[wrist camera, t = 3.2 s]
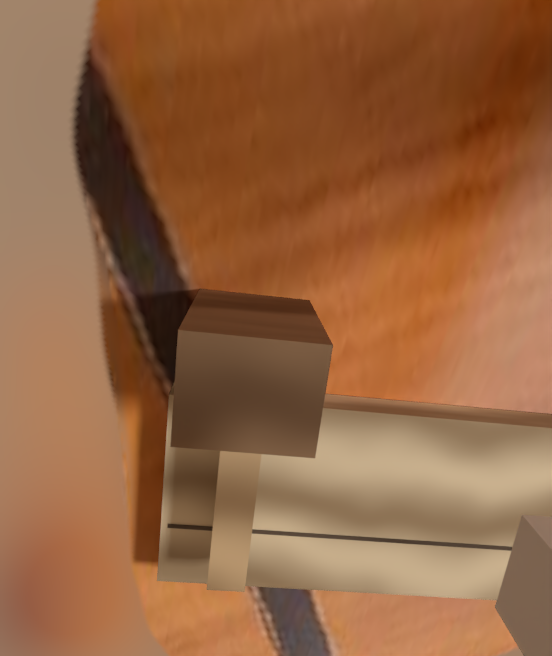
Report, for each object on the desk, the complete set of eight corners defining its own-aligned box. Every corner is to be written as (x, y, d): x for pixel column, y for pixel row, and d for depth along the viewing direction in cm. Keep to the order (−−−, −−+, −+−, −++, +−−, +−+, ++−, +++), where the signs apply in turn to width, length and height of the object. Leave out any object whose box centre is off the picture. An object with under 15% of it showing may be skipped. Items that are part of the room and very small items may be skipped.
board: (174, 380, 27) (168, 394, 25) (635, 421, 30) (663, 438, 28) (163, 556, 31) (157, 581, 29) (579, 582, 33) (601, 607, 31)
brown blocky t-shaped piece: (199, 288, 26) (178, 330, 18) (309, 300, 27) (332, 345, 19) (181, 524, 30) (157, 638, 22) (277, 530, 31) (285, 645, 23)
